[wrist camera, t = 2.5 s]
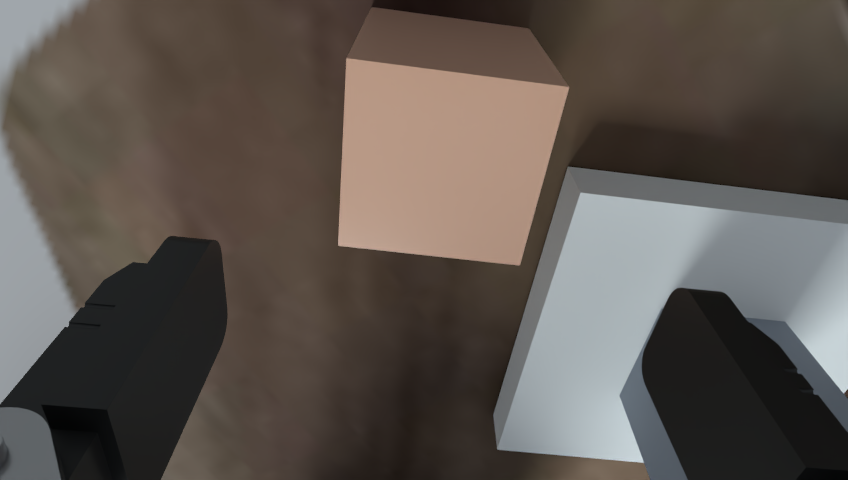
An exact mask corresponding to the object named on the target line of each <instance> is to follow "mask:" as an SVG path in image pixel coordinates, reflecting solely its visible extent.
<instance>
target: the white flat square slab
mask: <svg viewBox="0 0 848 480" xmlns="http://www.w3.org/2000/svg"><path fill="white" fill-rule="evenodd" d="M677 288H689V289H699V290H710V291H720V292H723V293H725V294H727V295H728V296H729V297H730V299H731V300H732V301H733V303H734V304H735V305H736V307H737V308H738V309H739V311H740V312H741V313H742V314H743V316H744V317H746V318H756V319H765V320H774V321H784V322H786V323H787V325H788V326H789V327H790V328H791V330H792V331H793V332H794V333H795V334H796V336H797V337H798V338H799V339H800V341H801V342H802V343H803V344H804V346H805V347H806V348H807V349H808V350H809V352H810V353H811V354H812V355H813V357H814V358H815V359H816V360H817V362H818V363H819V364H820V365H821V366H822V368H823V369H824V370H825V371H826V373H827V374H828V375H829V376H830V378H831V379H832V380H833V381H834V383H835V384H836V385H837V386H838V387H839V389H840V390H841V391H842V392H843V394H844V393H845V392H846V390H847V389H848V200H841V199H833V198H824V197H816V196H808V195H799V194H791V193H783V192H775V191H766V190H758V189H750V188H742V187H733V186H725V185H717V184H709V183H700V182H692V181H684V180H676V179H667V178H659V177H651V176H643V175H634V174H626V173H618V172H610V171H601V170H593V169H585V168H576V167H568V168H567V171H566V174H565V178H564V181H563V184H562V188H561V191H560V194H559V198H558V201H557V204H556V208H555V211H554V214H553V218H552V221H551V224H550V228H549V231H548V234H547V238H546V241H545V244H544V247H543V251H542V254H541V257H540V261H539V264H538V267H537V271H536V274H535V277H534V281H533V284H532V287H531V291H530V294H529V297H528V301H527V304H526V307H525V311H524V314H523V317H522V321H521V324H520V327H519V331H518V334H517V337H516V341H515V344H514V347H513V351H512V354H511V357H510V361H509V364H508V367H507V371H506V374H505V377H504V381H503V384H502V387H501V391H500V394H499V397H498V401H497V404H496V407H495V411H494V414H493V418H494V427H495V436H496V444H497V450H507V451H518V452H529V453H540V454H552V455H563V456H574V457H585V458H597V459H608V460H619V461H631V462H642V463H644V461H643V458H642V456H641V453H640V450H639V448H638V445H637V442H636V439H635V437H634V434H633V431H632V429H631V426H630V423H629V420H628V418H627V415H626V412H625V410H624V407H623V404H622V401H621V399H620V396H619V395H620V393H621V391H622V389H623V387H624V385H625V383H626V380H627V378H628V376H629V374H630V372H631V370H632V368H633V366H634V364H635V362H636V360H637V358H638V356H639V354H640V352H641V349H642V347H643V345H644V343H645V341H646V339H647V337H648V335H649V333H650V331H651V329H652V327H653V325H654V323H655V321H656V318H657V316H658V314H659V312H660V310H661V309H663V308H664V306H665V304H666V302H667V300H668V298H669V296H670V294H671V293H672V292H673V291H674V290H675V289H677Z"/></svg>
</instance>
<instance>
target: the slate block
mask: <svg viewBox="0 0 848 480" xmlns="http://www.w3.org/2000/svg"><path fill="white" fill-rule="evenodd" d="M662 310H663V309H661V310H660V312H659V314H658V316H657V318H656V321H655V323H654V325H653V327H652V329H651V331H650V333H649V335H648V337H647V339H646V341H645V343H644V345H643V347H642V349H641V352H640V354H639V356H638V358H637V360H636V362H635V364H634V366H633V368H632V370H631V372H630V374H629V376H628V378H627V380H626V383H625V385H624V387H623V389H622V391H621V393H620V395H619V396H620V399H621V401H622V404H623V407H624V410H625V412H626V415H627V418H628V420H629V423H630V426H631V429H632V431H633V434H634V437H635V439H636V442H637V445H638V448H639V450H640V453H641V456H642V458H643V461H644V464H645V467H646V469H647V472H648V475H649V477H650V480H688V479H687V477H686V475H685V473H684V470H683V468H682V466H681V464H680V462H679V459H678V457H677V455H676V453H675V450H674V448H673V446H672V444H671V442H670V439H669V437H668V435H667V433H666V430H665V428H664V426H663V424H662V421H661V419H660V417H659V415H658V413H657V410H656V408H655V406H654V404H653V401H652V399H651V397H650V395H649V393H648V390H647V388H646V386H645V383H644V380H643V376H642V356H643V352H644V349H645V347H646V345H647V342H648V340H649V338H650V336H651V334H652V332H653V330H654V327H655V325H656V323H657V321H658V319H659V317H660V315H661V312H662ZM745 318H746V317H745ZM746 320H747V321H748V322H749V323H752V324H753V325H754V326H756V327H757V328H758V329H760V330H761V331H762V332H763V333H765V334H766V335H767V336H768V337H770V338H771V339H772V340H773V341H775V342H776V343H777V344H778V345H779V346H780V347H781V348H782V350H783V351H784V352H785V353H786V355H787V356H788V357H789V358H790V360H791V361H792V362H793V364H794V365H795V366H796V367H797V373H798V374H802V375H803V376H804V378H805V379H806V380H807V381H808V383H809V384H810V385H811V386H812V388H813V389H814V390H813V393H814V394H815V395H819V397H820V398H821V399H822V400H823V402H824V403H825V404H826V405H827V407H828V408H829V409H830V411H831V412H832V413H833V414H834V416H835V417H836V418H837V419H838V421H839V422H840V423H841V425H842V426H843V427H844V428H845V430H846V431H847V432H848V399H847V397H846V396H845V395H844V394H843V392H842V391H841V390H840V389H839V387H838V386H837V385H836V384H835V383H834V381H833V380H832V379H831V378H830V376H829V375H828V374H827V373H826V371H825V370H824V369H823V368H822V366H821V365H820V364H819V363H818V362H817V360H816V359H815V358H814V357H813V355H812V354H811V353H810V352H809V350H808V349H807V348H806V347H805V346H804V344H803V343H802V342H801V341H800V339H799V338H798V337H797V336H796V334H795V333H794V332H793V331H792V330H791V328H790V327H789V326H788V325H787V323H786V322H784V321H774V320H765V319H756V318H746Z"/></svg>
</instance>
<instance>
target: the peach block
mask: <svg viewBox="0 0 848 480" xmlns="http://www.w3.org/2000/svg"><path fill="white" fill-rule="evenodd" d="M568 90H569V86H568V84H567V83H566V82H565V80H564V79H563V77H562V76H561V74H560V73H559V71H558V70H557V68H556V67H555V66H554V64H553V63H552V61H551V60H550V58H549V57H548V55H547V54H546V52H545V51H544V50H543V48H542V47H541V45H540V44H539V42H538V41H537V39H536V38H535V36H534V35H533V33H532V32H531V31H530V29H529V28H522V27H515V26H508V25H500V24H493V23H486V22H478V21H471V20H464V19H456V18H449V17H441V16H434V15H427V14H419V13H412V12H405V11H397V10H390V9H383V8H375V7H371V9H370V11H369V13H368V16H367V18H366V20H365V22H364V24H363V26H362V28H361V30H360V32H359V34H358V36H357V38H356V40H355V42H354V44H353V46H352V48H351V50H350V52H349V54H348V56H347V58H346V80H345V102H344V125H343V147H342V170H341V192H340V215H339V237H338V246H345V247H354V248H364V249H373V250H382V251H391V252H400V253H409V254H419V255H428V256H437V257H446V258H455V259H464V260H474V261H483V262H492V263H501V264H510V265H519V266H520V263H521V260H522V256H523V252H524V249H525V245H526V242H527V238H528V234H529V231H530V227H531V224H532V220H533V216H534V213H535V209H536V205H537V202H538V198H539V195H540V191H541V187H542V184H543V180H544V177H545V173H546V169H547V166H548V162H549V159H550V155H551V151H552V148H553V144H554V140H555V137H556V133H557V130H558V126H559V122H560V119H561V115H562V112H563V108H564V104H565V101H566V97H567V94H568Z"/></svg>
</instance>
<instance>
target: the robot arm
mask: <svg viewBox="0 0 848 480" xmlns="http://www.w3.org/2000/svg"><path fill="white" fill-rule="evenodd" d="M226 325H227V302H226V292H225V282H224V273H223V263H222V253H221V248H220V245H219V243H218V241H216V240H207V239H197V238H187V237H176V236H170V237H168V238H167V239H166V240H165V241H164V242H163V243H162V245H161V246H160V247H159V249H158V250H157V251H156V253H155V254H154V255H153V257H152V258H151V259H150V261H149V262H148V263H147V264H146V263H135V262H133V263H131V264H129V265H128V266H126V267H125V268H123V269H121V270H120V271H118V272H116V273H115V274H113V275H112V276H110V277H108V278H107V279H105V280H104V281H103V282H102V283H101V284H100V286H99V287H98V288H97V289H96V290H95V292H94V293H93V294H92V295H91V296H90V298H89V299H88V300H87V301H86V302H85V307H84V308H82V307H81V308H80V310H79V311H78V312H77V313H76V314H75V316H74V317H73V318H72V319H71V320H70V322H69V326H68V327H65V328H64V329H63V330H62V331H61V332H60V334H59V335H58V336H57V337H56V338H55V340H54V341H53V342H52V343H51V344H50V345H49V347H48V348H47V349H46V350H45V351H44V353H43V354H42V355H41V356H40V357H39V359H38V360H37V361H36V362H35V364H34V365H33V366H32V367H31V368H30V370H29V371H28V372H27V373H26V374H25V375H24V377H23V378H22V379H21V380H20V382H19V383H18V384H17V385H16V386H15V388H14V389H13V390H12V391H11V392H10V394H9V395H8V396H7V397H6V398H5V399H4V401H3V402H2V403H1V404H0V480H161V478H162V476H163V473H164V471H165V469H166V467H167V465H168V462H169V460H170V458H171V456H172V454H173V451H174V449H175V447H176V445H177V443H178V440H179V438H180V436H181V434H182V432H183V429H184V427H185V425H186V423H187V420H188V418H189V416H190V414H191V412H192V409H193V407H194V405H195V403H196V401H197V398H198V396H199V394H200V392H201V390H202V387H203V385H204V383H205V381H206V378H207V376H208V374H209V372H210V370H211V367H212V365H213V363H214V361H215V359H216V356H217V354H218V352H219V350H220V348H221V345H222V342H223V339H224V336H225V331H226ZM642 376H643V380H644V383H645V386H646V388H647V390H648V393H649V395H650V397H651V399H652V401H653V404H654V406H655V408H656V410H657V413H658V415H659V417H660V419H661V421H662V424H663V426H664V428H665V430H666V433H667V435H668V437H669V439H670V442H671V444H672V446H673V448H674V450H675V453H676V455H677V457H678V459H679V462H680V464H681V466H682V468H683V470H684V473H685V475H686V477H687V479H688V480H848V432H847V431H846V430H845V428H844V427H843V426H842V425H841V423H840V422H839V421H838V419H837V418H836V417H835V416H834V414H833V413H832V412H831V411H830V409H829V408H828V407H827V405H826V404H825V403H824V402H823V400H822V399H821V398H820V397H819V395H815V394H814V393H813V390H814V389H813V388H812V386H811V385H810V384H809V383H808V381H807V380H806V379H805V378H804V376H803V375H802V374H798V373H797V367H796V366H795V365H794V364H793V362H792V361H791V360H790V358H789V357H788V356H787V355H786V353H785V352H784V351H783V350H782V348H781V347H780V346H779V345H778V344H777V343H776V342H775V341H773V340H772V339H771V338H770V337H768V336H767V335H766V334H765V333H763V332H762V331H761V330H760V329H758V328H757V327H756V326H754V325H753V324H752V323H749V322H748V321H747V320H746V318H745V317H744V316H743V314H742V313H741V312H740V311H739V309H738V308H737V307H736V305H735V304H734V303H733V301H732V300H731V299H730V297H729V296H728V295H727V294H725V293H723V292H720V291H710V290H699V289H689V288H677V289H675V290H674V291H673V292H672V293H671V294H670V296H669V298H668V300H667V302H666V304H665V306H664V308H663V310H662V312H661V315H660V317H659V319H658V321H657V323H656V325H655V327H654V330H653V332H652V334H651V336H650V338H649V340H648V342H647V345H646V347H645V349H644V352H643V356H642Z"/></svg>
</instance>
